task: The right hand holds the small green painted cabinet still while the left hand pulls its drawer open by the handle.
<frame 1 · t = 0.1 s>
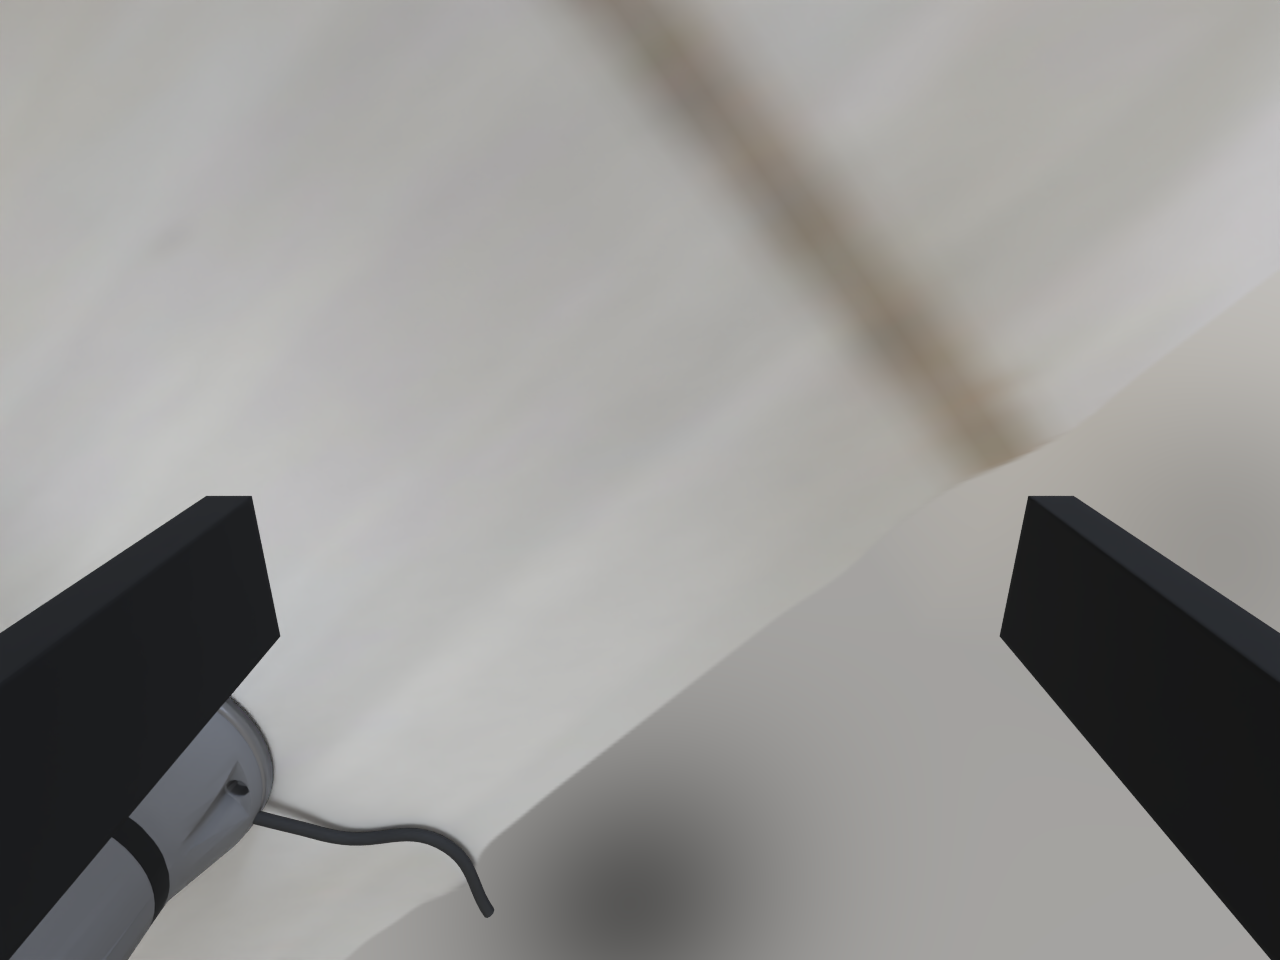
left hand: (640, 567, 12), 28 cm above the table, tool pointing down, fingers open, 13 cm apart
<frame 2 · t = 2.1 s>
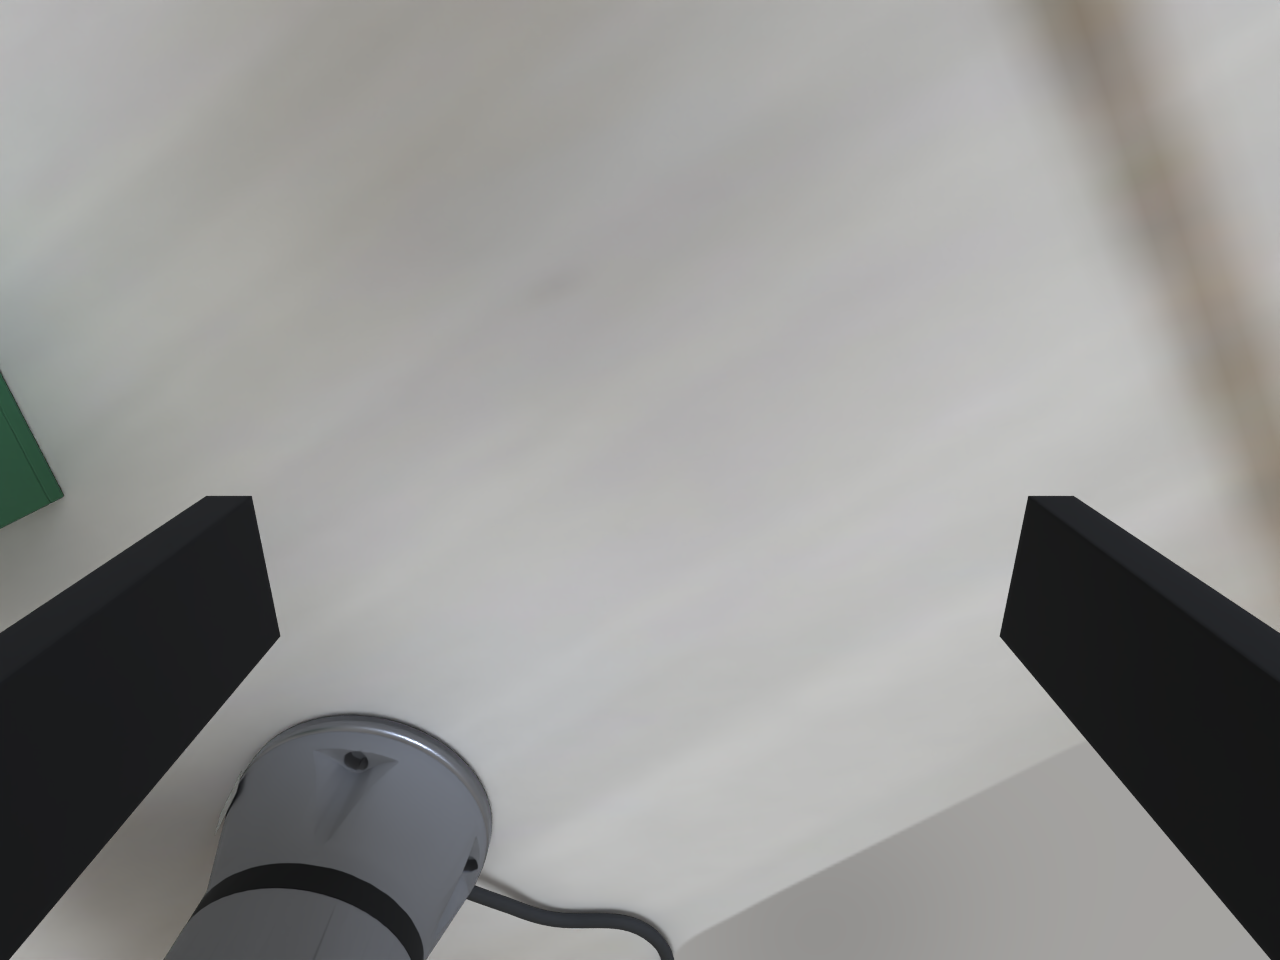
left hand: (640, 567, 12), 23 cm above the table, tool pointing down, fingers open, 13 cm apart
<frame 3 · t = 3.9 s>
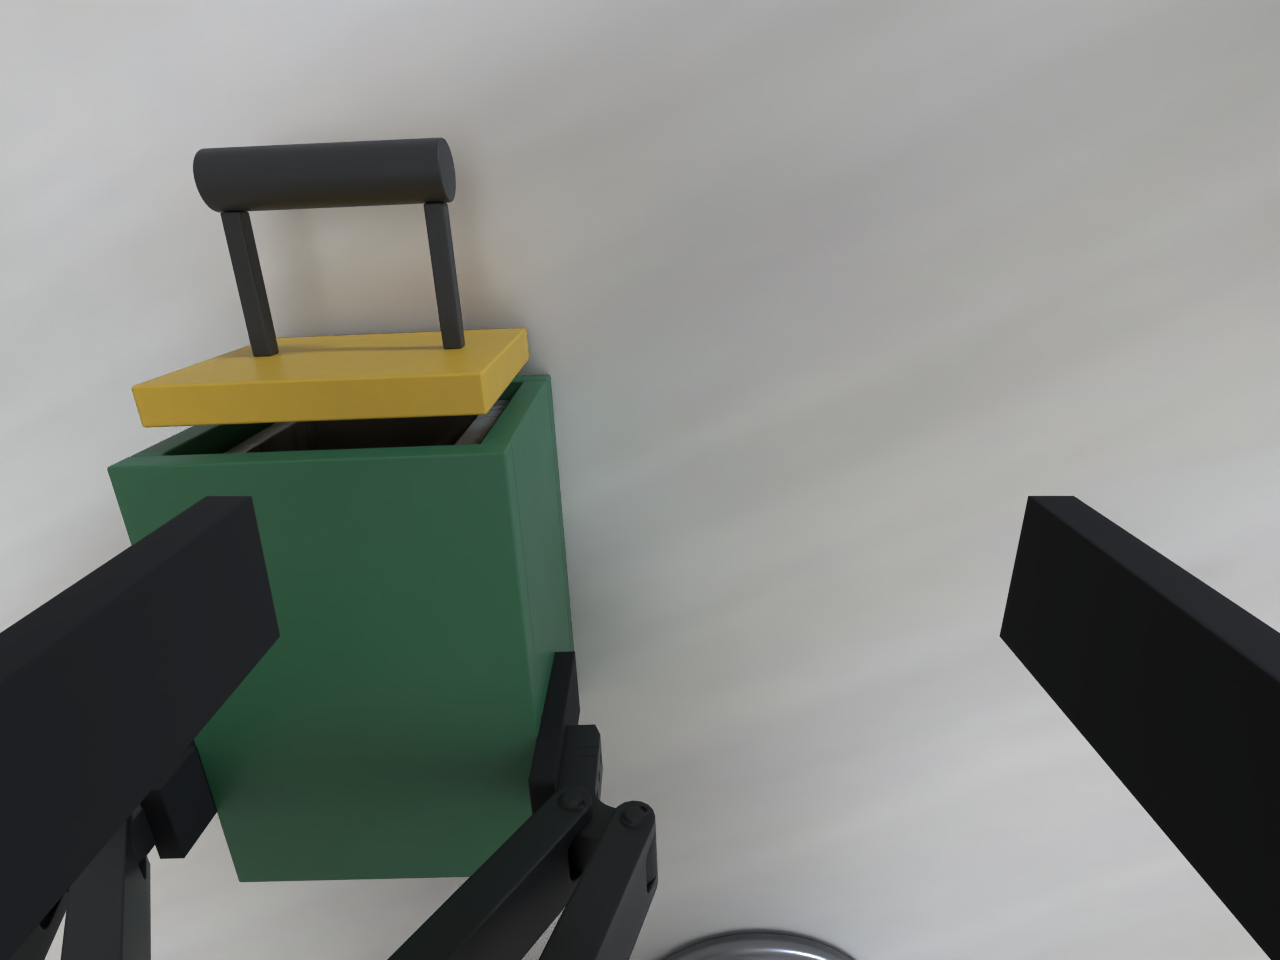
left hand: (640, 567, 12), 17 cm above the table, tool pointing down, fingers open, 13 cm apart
cabinet: (439, 553, 31), on the table, touching right hand
drawer: (378, 467, 25), point 5 cm above the table, slide at 0.8 cm
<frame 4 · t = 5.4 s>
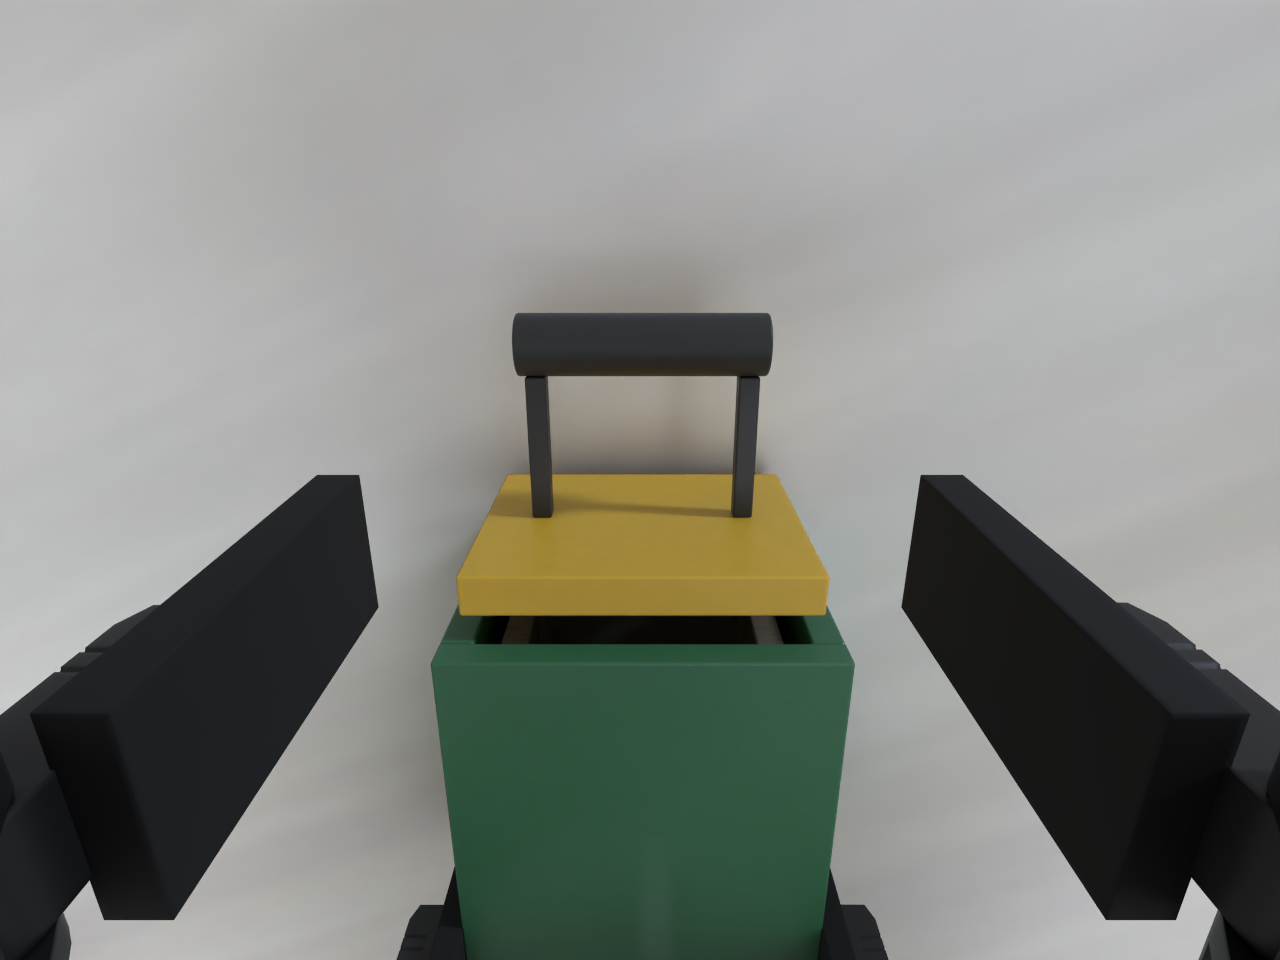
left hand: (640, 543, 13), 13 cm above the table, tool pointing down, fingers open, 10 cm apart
cabinet: (641, 681, 30), on the table, touching right hand
drawer: (642, 627, 24), point 5 cm above the table, slide at 0.8 cm
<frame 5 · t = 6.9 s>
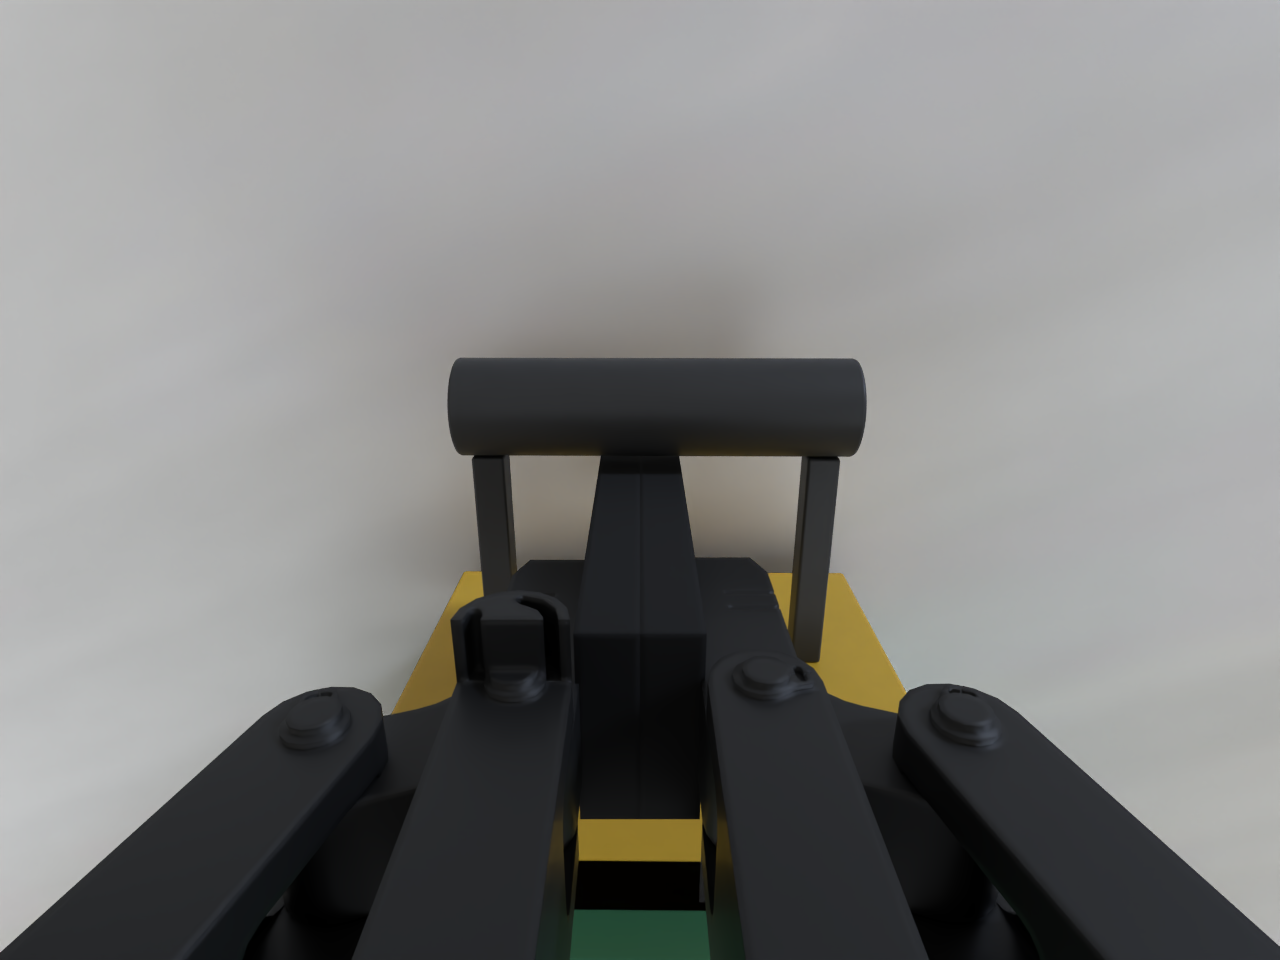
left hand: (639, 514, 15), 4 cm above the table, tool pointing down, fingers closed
cabinet: (650, 833, 23), on the table, touching right hand
drawer: (652, 809, 16), point 5 cm above the table, slide at 0.9 cm
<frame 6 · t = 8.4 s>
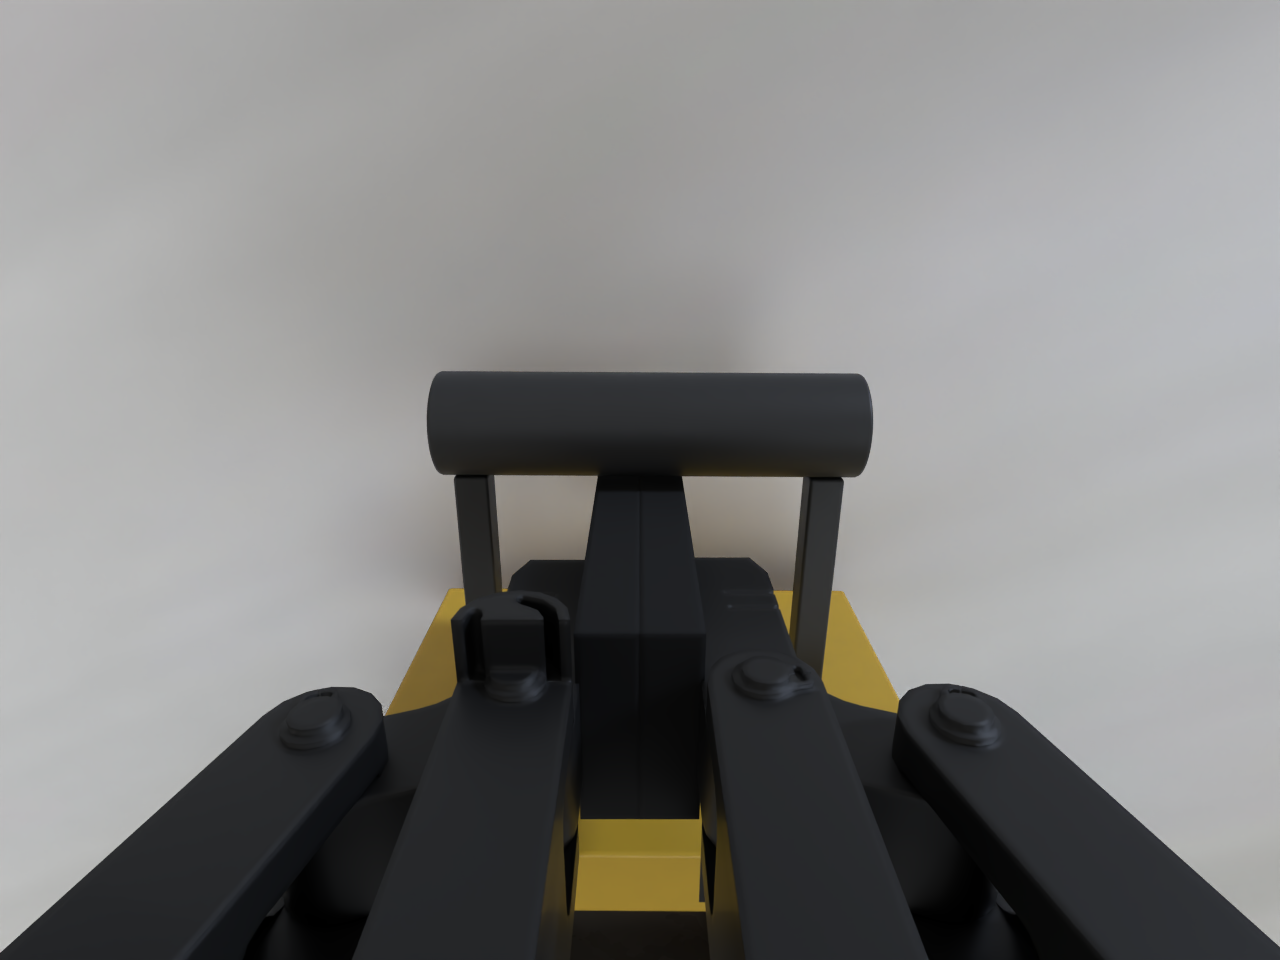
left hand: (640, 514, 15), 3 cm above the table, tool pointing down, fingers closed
drawer: (645, 840, 16), point 5 cm above the table, slide at 7.5 cm, touching left hand
when the right hand's fingers open (5 cm above the table, at t = 10.1 s): cabinet stays where it is, on the table.
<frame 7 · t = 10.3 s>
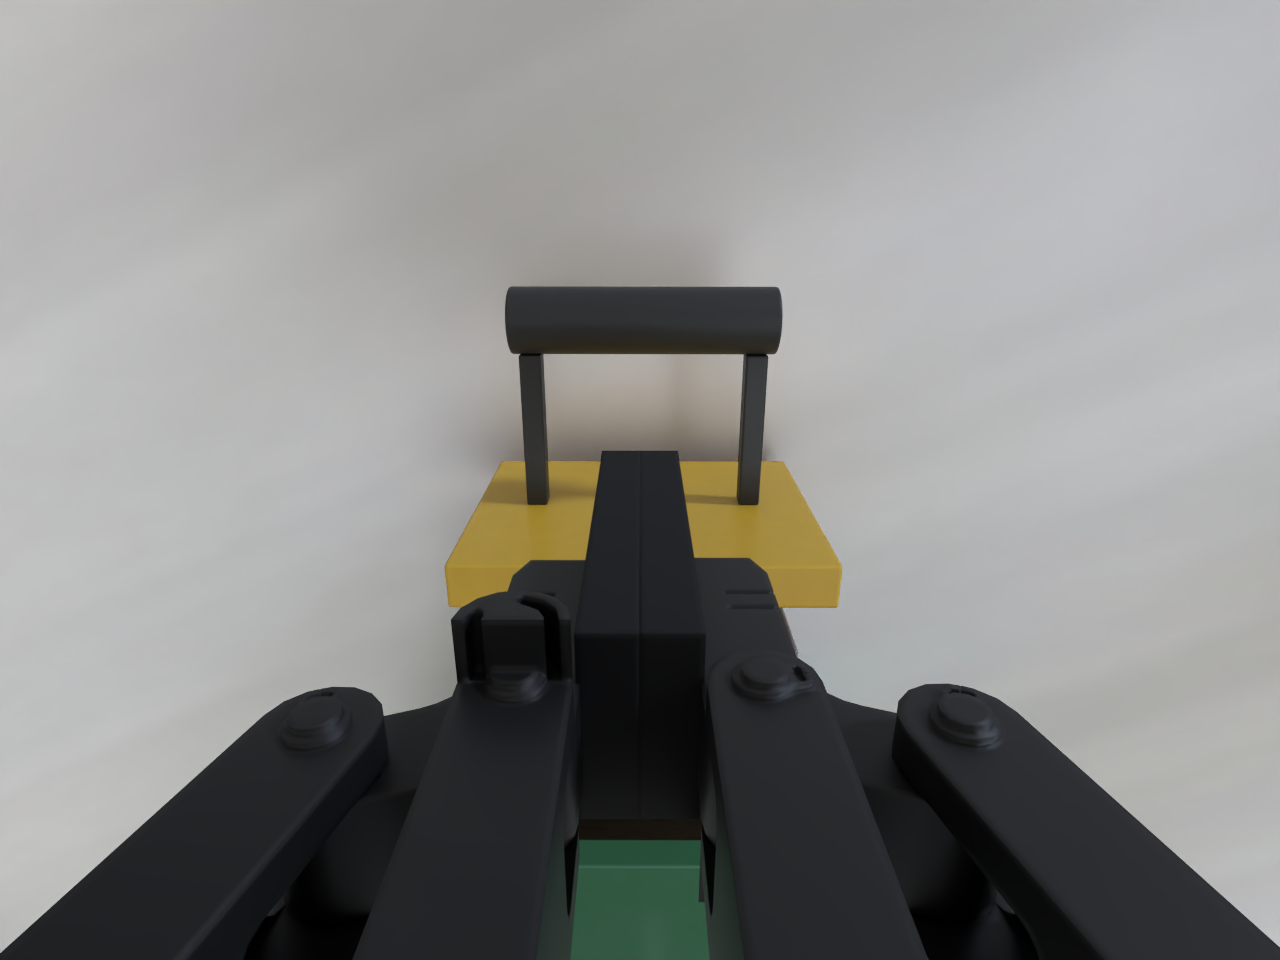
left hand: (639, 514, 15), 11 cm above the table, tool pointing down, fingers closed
cabinet: (641, 807, 32), on the table
drawer: (642, 620, 23), point 5 cm above the table, slide at 7.5 cm
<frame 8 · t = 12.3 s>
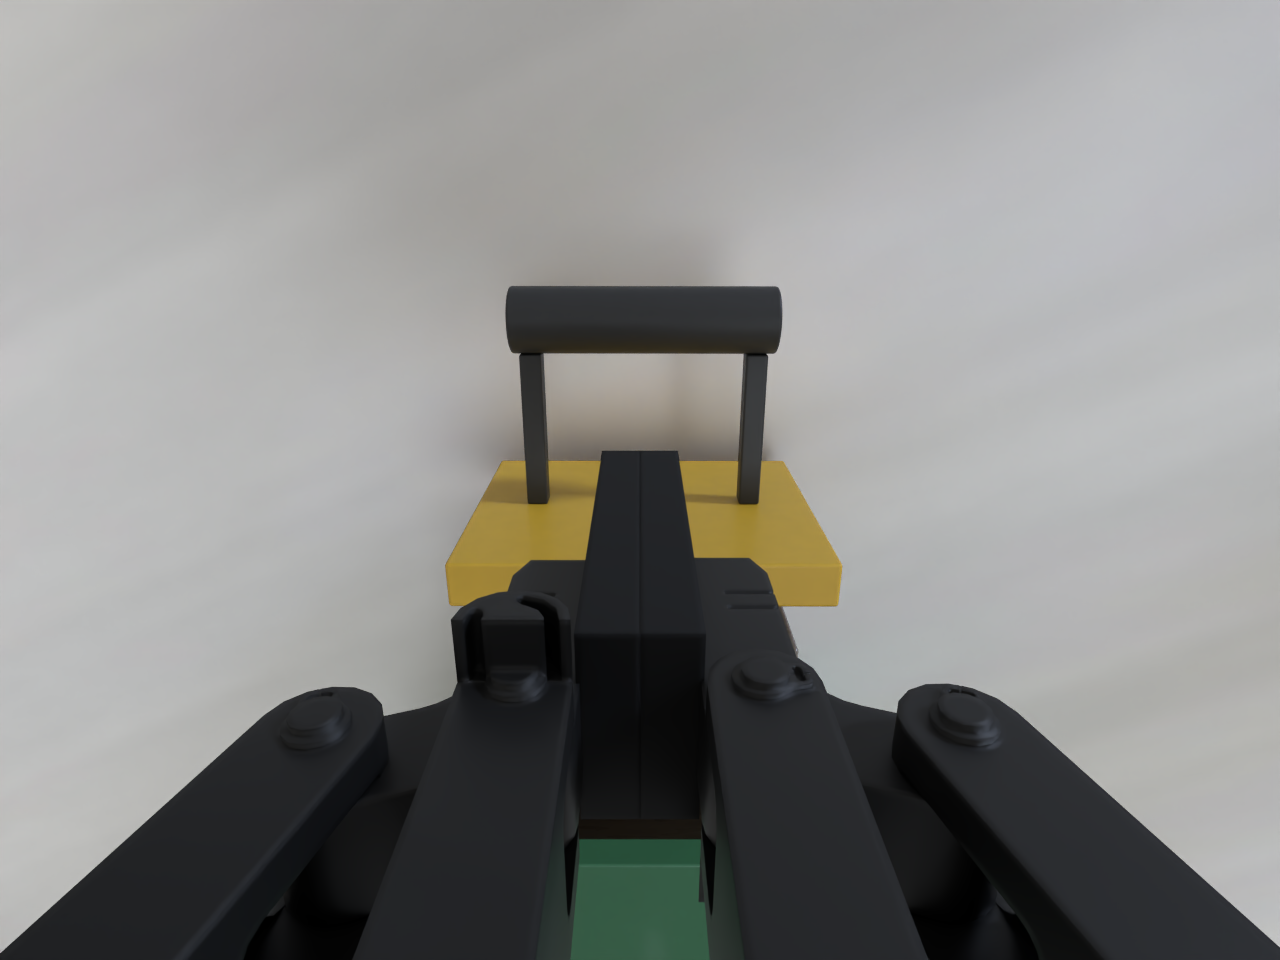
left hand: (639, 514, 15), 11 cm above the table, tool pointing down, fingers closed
cabinet: (641, 807, 32), on the table
drawer: (642, 620, 23), point 5 cm above the table, slide at 7.5 cm
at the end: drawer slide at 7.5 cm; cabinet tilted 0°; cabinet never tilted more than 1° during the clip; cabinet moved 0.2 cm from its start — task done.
